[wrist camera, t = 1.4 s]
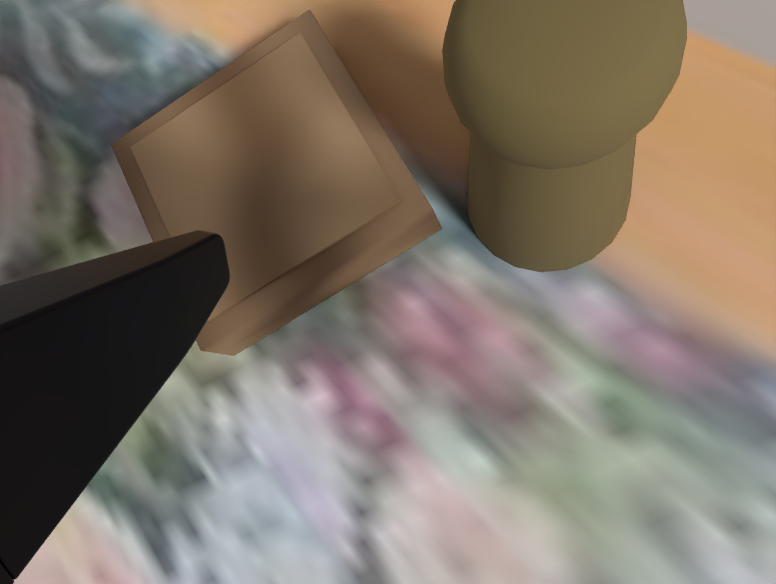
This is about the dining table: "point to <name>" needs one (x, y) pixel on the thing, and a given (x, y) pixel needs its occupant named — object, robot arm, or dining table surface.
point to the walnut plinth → (277, 182)
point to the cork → (557, 116)
